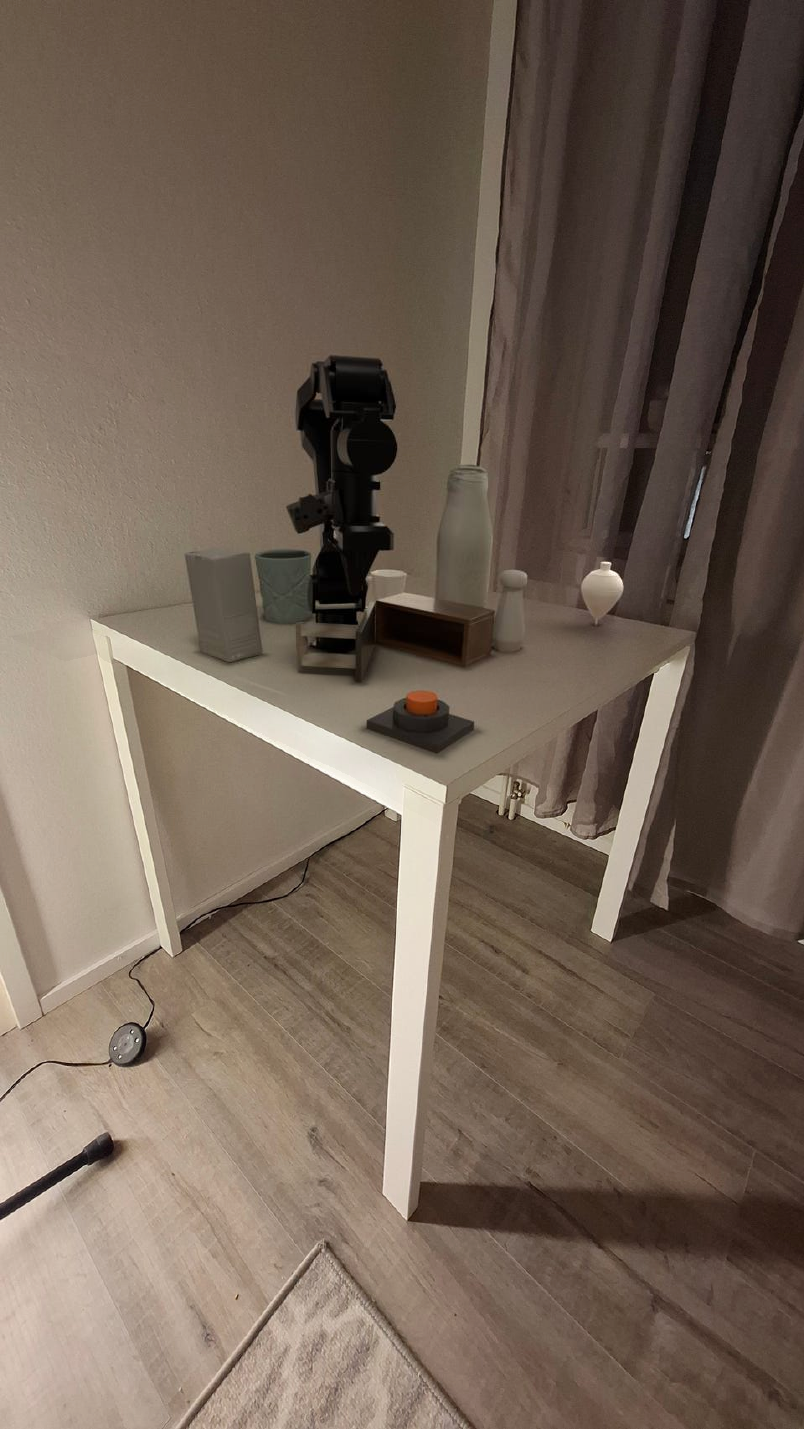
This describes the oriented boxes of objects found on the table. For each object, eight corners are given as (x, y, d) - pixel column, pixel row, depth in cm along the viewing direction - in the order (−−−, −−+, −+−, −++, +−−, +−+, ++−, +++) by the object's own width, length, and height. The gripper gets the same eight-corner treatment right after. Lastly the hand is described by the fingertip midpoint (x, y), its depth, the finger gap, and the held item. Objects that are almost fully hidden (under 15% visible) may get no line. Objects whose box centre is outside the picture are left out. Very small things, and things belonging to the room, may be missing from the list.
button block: (366, 729, 73) (366, 706, 71) (405, 708, 79) (406, 687, 77) (437, 754, 67) (438, 729, 66) (473, 730, 73) (475, 707, 72)
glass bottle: (468, 611, 126) (479, 463, 115) (494, 624, 118) (509, 466, 106) (424, 614, 122) (431, 462, 111) (448, 628, 114) (459, 465, 102)
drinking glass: (323, 618, 117) (322, 554, 112) (281, 628, 110) (278, 560, 105) (289, 608, 123) (287, 547, 118) (247, 617, 116) (243, 552, 111)
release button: (399, 710, 72) (400, 696, 71) (417, 701, 74) (418, 687, 74) (425, 718, 70) (426, 704, 69) (442, 709, 72) (443, 695, 72)
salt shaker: (523, 656, 100) (532, 575, 95) (487, 652, 101) (495, 573, 96) (523, 645, 105) (532, 569, 100) (490, 642, 106) (497, 566, 101)
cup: (404, 619, 119) (405, 577, 115) (352, 616, 119) (352, 574, 116) (406, 610, 125) (407, 570, 122) (357, 607, 125) (357, 567, 122)
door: (293, 678, 87) (291, 628, 84) (318, 642, 103) (316, 598, 100) (361, 682, 86) (361, 631, 83) (375, 645, 102) (375, 601, 99)
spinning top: (584, 617, 124) (593, 557, 119) (621, 624, 120) (633, 562, 115) (569, 625, 119) (579, 562, 114) (608, 632, 115) (620, 567, 110)
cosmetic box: (263, 655, 96) (257, 552, 90) (223, 665, 91) (213, 557, 85) (233, 643, 101) (225, 544, 95) (193, 652, 96) (182, 549, 90)
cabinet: (465, 668, 94) (469, 619, 91) (375, 645, 103) (375, 600, 100) (490, 656, 100) (495, 609, 96) (403, 634, 109) (404, 592, 106)
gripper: (282, 466, 83) (287, 582, 90) (297, 473, 67) (302, 614, 73) (362, 468, 86) (362, 580, 92) (396, 476, 70) (393, 611, 76)
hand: (353, 594), depth 83 cm, fingers closed
